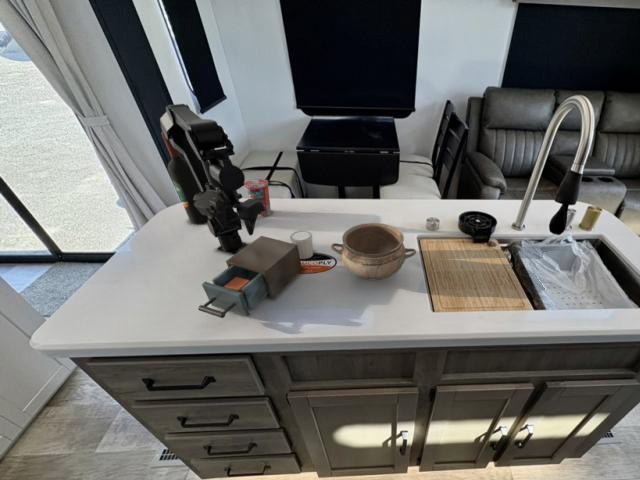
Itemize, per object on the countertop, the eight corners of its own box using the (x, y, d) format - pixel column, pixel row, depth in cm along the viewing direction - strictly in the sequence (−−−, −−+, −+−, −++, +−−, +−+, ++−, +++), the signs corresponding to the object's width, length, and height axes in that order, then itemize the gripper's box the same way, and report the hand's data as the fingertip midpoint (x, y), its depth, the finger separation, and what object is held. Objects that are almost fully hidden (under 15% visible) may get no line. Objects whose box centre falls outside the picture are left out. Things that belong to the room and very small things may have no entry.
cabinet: (272, 298, 89) (264, 272, 83) (235, 287, 92) (225, 261, 86) (302, 270, 100) (297, 244, 94) (268, 260, 103) (261, 235, 97)
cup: (251, 210, 128) (243, 180, 120) (274, 207, 131) (267, 177, 123) (253, 221, 122) (244, 190, 114) (277, 217, 125) (269, 186, 117)
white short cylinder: (310, 261, 103) (306, 242, 99) (290, 258, 104) (285, 239, 100) (318, 250, 108) (315, 231, 104) (299, 247, 109) (295, 228, 105)
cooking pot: (326, 288, 94) (321, 252, 85) (340, 252, 108) (337, 219, 100) (413, 294, 93) (415, 259, 85) (415, 257, 107) (418, 224, 99)
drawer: (233, 330, 79) (223, 308, 74) (196, 317, 82) (185, 295, 77) (279, 286, 92) (273, 265, 87) (246, 277, 95) (239, 256, 90)
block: (229, 298, 86) (224, 286, 83) (241, 289, 89) (236, 276, 86) (242, 303, 85) (237, 290, 82) (254, 293, 88) (249, 280, 85)
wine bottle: (207, 224, 119) (171, 135, 99) (186, 223, 119) (146, 135, 99) (216, 215, 124) (184, 129, 105) (196, 214, 124) (160, 128, 104)
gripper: (164, 181, 79) (190, 237, 89) (226, 196, 74) (245, 253, 85) (201, 167, 87) (220, 220, 97) (258, 179, 82) (272, 233, 93)
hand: (238, 231), depth 93 cm, fingers open, 9 cm apart
